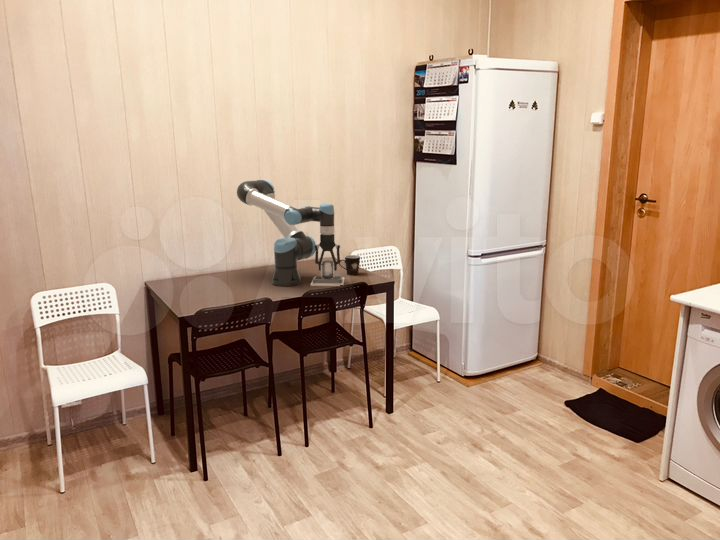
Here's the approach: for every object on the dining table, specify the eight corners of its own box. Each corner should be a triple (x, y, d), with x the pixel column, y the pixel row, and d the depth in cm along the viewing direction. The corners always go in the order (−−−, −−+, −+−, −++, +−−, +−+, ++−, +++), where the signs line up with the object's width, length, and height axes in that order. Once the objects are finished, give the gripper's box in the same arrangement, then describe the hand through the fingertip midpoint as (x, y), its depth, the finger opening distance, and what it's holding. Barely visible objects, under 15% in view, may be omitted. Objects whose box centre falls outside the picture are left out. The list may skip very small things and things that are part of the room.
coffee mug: (360, 272, 328) (360, 255, 326) (359, 275, 320) (359, 258, 318) (340, 271, 329) (340, 254, 327) (338, 275, 321) (338, 258, 319)
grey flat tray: (310, 285, 299) (310, 281, 298) (313, 278, 315) (313, 274, 314) (343, 285, 299) (342, 281, 298) (344, 278, 314) (344, 274, 314)
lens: (322, 281, 303) (321, 262, 301) (322, 278, 309) (322, 260, 307) (332, 281, 303) (332, 262, 301) (333, 278, 309) (333, 260, 307)
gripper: (308, 234, 297) (309, 278, 302) (344, 234, 297) (344, 278, 302) (310, 232, 304) (311, 274, 310) (345, 232, 304) (345, 274, 309)
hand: (327, 276), depth 306 cm, fingers closed on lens, 6 cm apart
